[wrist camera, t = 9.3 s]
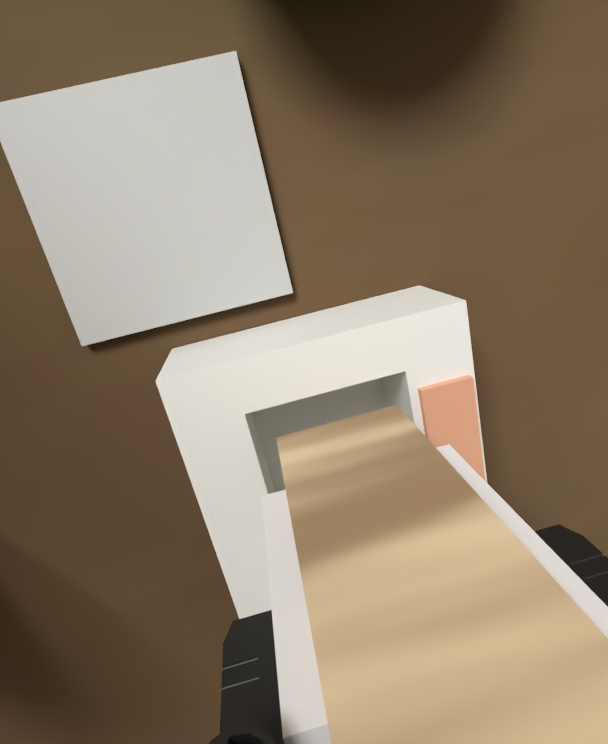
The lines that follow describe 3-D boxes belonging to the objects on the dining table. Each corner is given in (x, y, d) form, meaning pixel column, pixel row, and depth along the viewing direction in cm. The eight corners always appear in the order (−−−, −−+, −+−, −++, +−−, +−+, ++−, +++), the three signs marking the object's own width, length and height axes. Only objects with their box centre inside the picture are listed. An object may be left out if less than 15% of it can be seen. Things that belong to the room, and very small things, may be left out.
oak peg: (276, 437, 15) (401, 1130, 3) (397, 404, 15) (891, 953, 4) (304, 540, 16) (465, 1298, 5) (415, 509, 16) (826, 1157, 5)
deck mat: (-8, 108, 15) (-15, 105, 15) (235, 55, 16) (236, 50, 15) (85, 343, 18) (81, 346, 17) (291, 291, 18) (293, 292, 18)
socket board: (172, 348, 18) (153, 384, 14) (423, 284, 19) (476, 300, 15) (283, 681, 24) (293, 775, 20) (473, 624, 24) (520, 703, 20)
